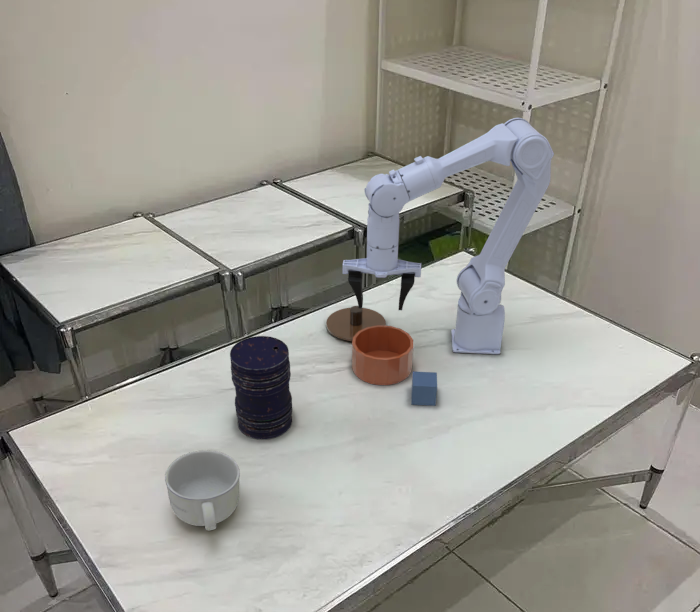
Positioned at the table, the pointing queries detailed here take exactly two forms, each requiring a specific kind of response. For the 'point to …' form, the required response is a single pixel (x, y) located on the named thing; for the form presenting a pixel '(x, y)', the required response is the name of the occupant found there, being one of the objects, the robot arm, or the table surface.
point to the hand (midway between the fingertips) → (380, 306)
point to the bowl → (382, 355)
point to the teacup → (203, 487)
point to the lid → (352, 321)
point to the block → (424, 388)
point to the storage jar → (262, 386)
